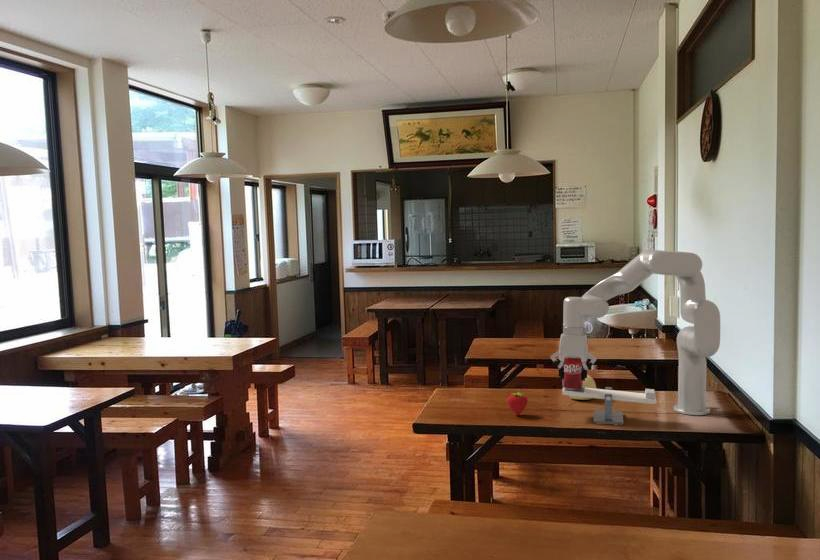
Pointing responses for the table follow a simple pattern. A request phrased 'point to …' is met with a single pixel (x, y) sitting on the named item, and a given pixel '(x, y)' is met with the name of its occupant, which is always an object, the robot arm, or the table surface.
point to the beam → (614, 395)
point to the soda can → (572, 373)
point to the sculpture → (587, 384)
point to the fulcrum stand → (608, 412)
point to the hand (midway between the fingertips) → (572, 379)
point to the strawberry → (517, 402)
